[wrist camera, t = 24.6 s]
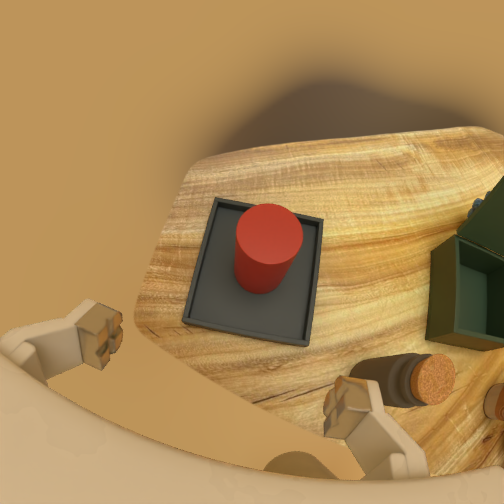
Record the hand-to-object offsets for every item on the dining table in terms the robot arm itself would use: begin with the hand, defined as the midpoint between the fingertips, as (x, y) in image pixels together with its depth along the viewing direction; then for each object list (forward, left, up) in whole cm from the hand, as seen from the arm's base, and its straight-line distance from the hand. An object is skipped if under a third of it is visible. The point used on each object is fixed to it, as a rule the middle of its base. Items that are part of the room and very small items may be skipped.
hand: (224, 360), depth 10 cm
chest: (+13, -35, -26) cm, 46 cm away
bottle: (0, -18, -26) cm, 32 cm away
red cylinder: (+13, -1, -25) cm, 28 cm away
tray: (+12, -1, -26) cm, 29 cm away
